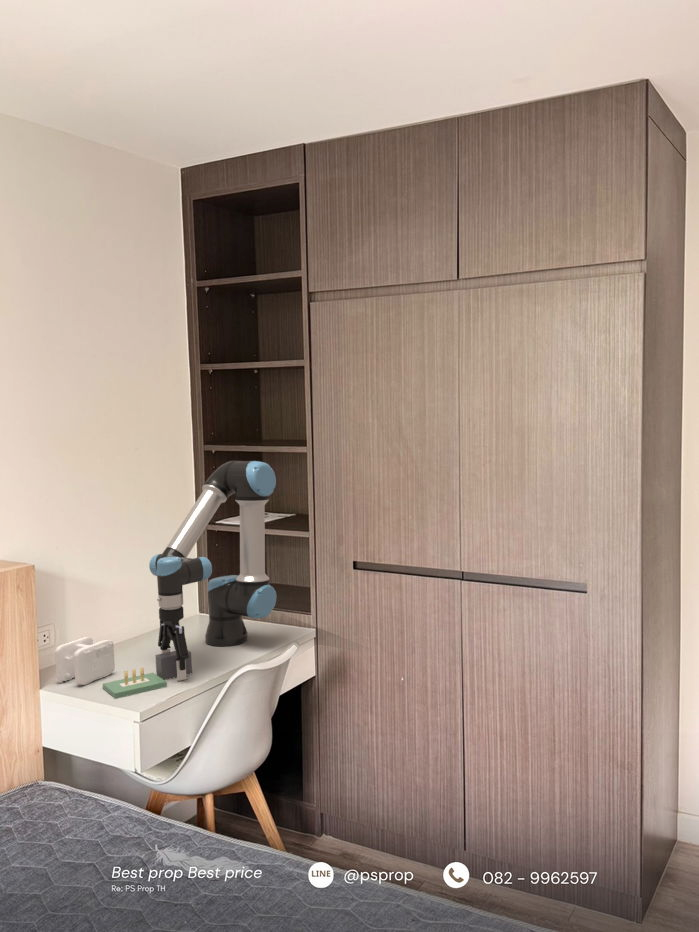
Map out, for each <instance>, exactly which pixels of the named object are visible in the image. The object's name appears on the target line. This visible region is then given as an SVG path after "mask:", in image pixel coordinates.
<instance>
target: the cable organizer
mask: <svg viewBox="0 0 699 932" xmlns="http://www.w3.org/2000/svg"><path fill="white" fill-rule="evenodd" d="M114 648H115V647H114V641H113V640H110V639H104V640H100V641H98V642H94V639H93V638H92V637H89V636H84V637H81V638H79V639H75V640H73V641H70V642H66V643H64V644H60V645H59V646H57V647H56V648H55V651H54V652H55V653H54V655H55V657H54V658H55V659H54V660H55V672H56V674H55V677H56V679H57V680H58V681H62V682H63V681H66V682H68V681H67V680H69V681H71V680H73V679H74V680H75V681H74V682H75V683H76V684H77V685H82V686H86V685H89V684H92V682H93V681H96V680H99V679H100V680H101V679H103V677H104V678H106V677H108V675H111V674H113V672H114V671H115V669H116V668H115V667H116V664H115V649H114ZM72 678H73V679H72ZM70 679H71V680H70Z"/></svg>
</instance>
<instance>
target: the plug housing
mask: <svg viewBox="0 0 699 932" xmlns="http://www.w3.org/2000/svg"><path fill="white" fill-rule="evenodd" d="M188 655H189V658H187V659H186V674H188V675H191V674H190V673H192V674H193V668H192V667H193V664H192V663H193V662H192V651H190V650H188ZM176 659H177V655H176V651H175V650H173V651H172V650H171V651H170V652H168V653H163V654H161V653H159V654H155V670H156V672H155V674H156V675H157V676H159V677H160V678H162V679H163V680H165V679H166V680H170V679H169V678H171V679H174V678H173V677H175V678H177V663H176ZM166 680H165V681H166Z"/></svg>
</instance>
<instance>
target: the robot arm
mask: <svg viewBox="0 0 699 932" xmlns="http://www.w3.org/2000/svg"><path fill="white" fill-rule="evenodd" d="M275 474H276V473H275V471H274V470H273V468H272V467H271V466H270V464H269V463H266V462H263V461H257V460H246V461H245V460H230V461H227V462H225V463H223V464H221V465H220V466H218V467H217V468H216V469H215V470H214V471H213V472H212V473H211V475H209V477H208V478H207V480H206V481H204V483H203V485H202V486H201V489H202V491H201V494H199V496H198V498H197V500H196V501H195V503H194V504H193V506H192V507H191V509H190V511H189V512H188V514H187V515H186V517H185V518H184V520H183V521H182V522H181V524H180V526H179V527H178V529H177V531H176V532H175V533H174V535H173V536H172V538H171V540H170V541H169V543H168V544H167V546H166V547H165V549H164V550H163V552H162V553H159V554H158V553H157V554H155V555H153V556H152V557H151V559H150V560H149V565H148V566H149V571H150V573H151V575H153V576H154V577H156V579H157V593H158V594H157V595H158V598H157V599H156V601H157V602H158V607H159V609H158V618H159V630H158V631H159V632H158V633H159V634H158V642H157V646H158V647H159V648H160V650H161V651H160V652H161V653H160V654H163V653H168V652H171V649H172V646H171V641H172V643H173V648H174V651H176V655H177V659H176V663H177V677H176V681H177V682H178V681H179V682H180V681H184V680H187V675H186V659H187V658H189V655H188V651H189V650H188V644H187V639H186V635H185V627H184V625H183V626H181V625H180V621H181V620H182V619H184V615H185V614H184V607H183V605H184V594H183V586H185V585H186V586H187V585H189V584H194V583H199V582H203V581H204V580H208V579H209V578H210V577H212V576H211V575H212V573H213V566H212V562H211V561H210V559H208V558H207V557H206V556H200V557H199V556H197V557H193V558H190V557H188V556H189V555H190V553H191V551H192V549H194V547H195V545H196V543H197V542H198V541H199V539H200V538H201V535H202V534H203V533H204V531H205V529H206V528H207V526H208V525H209V523H210V521H211V520H212V519H213V517H214V515H215V513H216V512H217V511H218V508H219V507H220V505H221V504H222V503H223V504H225V503H226V501H227V500H228V499H229V497H230V496H232V495H234V496H235V497H234V500H235V502H236V503H237V504H238V505H239V574H237V575H236V574H231V575H222V576H218V577H214V578H211V579H209V581H208V583H207V600H208V604H207V605H208V616H209V618H208V624H207V627H206V628H207V629H206V632H205V635H204V639H205V640H204V642H205V643H206V644H207V645H209V646H213V647H230V646H236V645H237V646H238V645H240V644H243V643H245V642H247V641H248V639H249V637H248V636H249V635H248V634H249V633H248V631H247V627H246V625H245V622H244V619H243V617H248V618H250V619H263V618H266V617H267V616H269V615H270V614H271V613H272V611H273V610H274V608H275V606H276V602H277V592H276V590H275V588H274V587H273V586H272V585H270V577H269V576H268V575H267V574H266V536H265V533H266V531H265V530H266V526H265V524H266V523H265V517H266V516H265V515H266V514H265V505H266V504H267V503H269V500H270V495H272V494H273V493H274V490H275V488H276V486H277V478H276V477H277V476H276V475H275Z"/></svg>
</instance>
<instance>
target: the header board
mask: <svg viewBox="0 0 699 932" xmlns="http://www.w3.org/2000/svg"><path fill="white" fill-rule="evenodd" d="M139 670H140V675H137V672H136V671H137V670H136V669H135V668H134V669H132V670H131V671H132V676H131V677H129V674H128V673H129V672H128V670H125V671H124V673H123V675H124V676H123V677H124V678H122V679H117V680H113V681H109V682H104V683H102V689H103V690H104V691H105V690H106V691H105V692H106V693H108V694H109V695H110V694H111V695H112V696H111V695H110V696H111V697H113V698H114V699H119V698H123V696H124V697H128V696H132V695H137V694H140V693H145V692H149V691H153V690H157V689H162V687H163V688H166V686H167V687H168V684H167V681H166V680H163V679H162V678H160V677H159V676H157V674H156V673H155V672H150V673H145V672H144V671H145V669H144V667H140V668H139ZM131 694H132V695H131ZM127 695H128V696H127Z"/></svg>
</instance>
